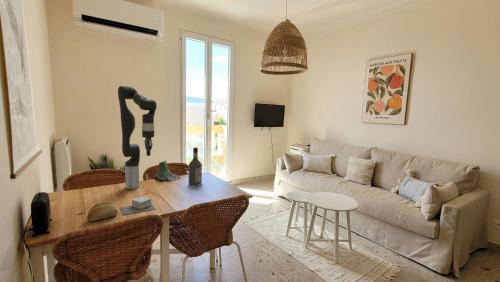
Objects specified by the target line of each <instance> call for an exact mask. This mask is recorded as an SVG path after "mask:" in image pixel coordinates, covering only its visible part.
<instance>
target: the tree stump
mask: <svg viewBox="0 0 500 282" xmlns="http://www.w3.org/2000/svg"><path fill="white" fill-rule="evenodd" d="M167 162H168V161H167V160H163V161H160V162H159V163H158V172H157V174H154V175H155V178H157V179H158V180H160V181H163V182H172V180H174V181H177V179H178V180H180V178H181V177H180V175H178V174H174V173H172V172H171V171H170V169H169V168H168V167H169V165H168V163H167ZM176 177H177V178H176Z"/></svg>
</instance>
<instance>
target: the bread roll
mask: <svg viewBox="0 0 500 282" xmlns="http://www.w3.org/2000/svg"><path fill="white" fill-rule="evenodd" d="M118 211H119V210H118V209H117V207H116V206H115V205H114V204H112V203H111V202H100V203H97V204H95V205H93V206H92V207H91V208H90V209H89V211H88V213H87V216H86V220H87V221H88V222H94V221H99V220H102V219H107V218H113V217H115V216H116V215H117V214H118Z"/></svg>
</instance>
